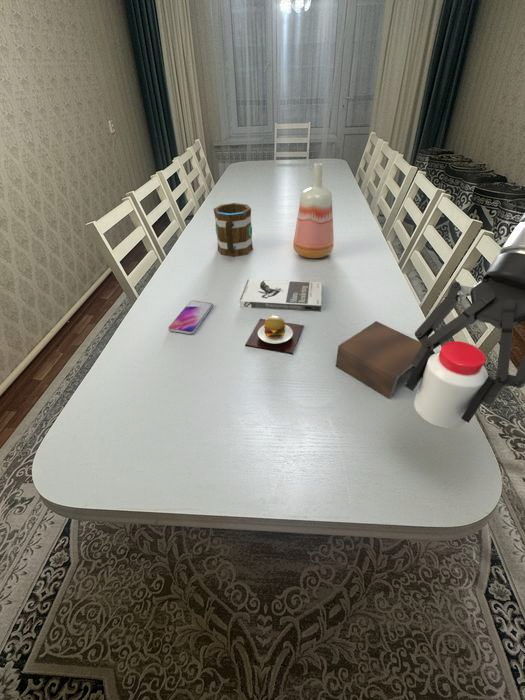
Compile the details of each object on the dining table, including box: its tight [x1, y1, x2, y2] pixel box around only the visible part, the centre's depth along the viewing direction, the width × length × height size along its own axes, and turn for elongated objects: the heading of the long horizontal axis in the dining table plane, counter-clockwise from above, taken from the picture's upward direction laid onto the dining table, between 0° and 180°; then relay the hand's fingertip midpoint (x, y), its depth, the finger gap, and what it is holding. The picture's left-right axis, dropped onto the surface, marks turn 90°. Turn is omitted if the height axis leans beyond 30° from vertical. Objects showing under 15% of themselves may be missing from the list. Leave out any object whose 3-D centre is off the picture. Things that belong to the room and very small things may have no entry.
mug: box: [212, 202, 254, 258], centre depth 129 cm, size 20×14×15 cm
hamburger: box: [244, 315, 304, 355], centre depth 90 cm, size 12×12×6 cm
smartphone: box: [167, 300, 214, 335], centre depth 99 cm, size 7×1×15 cm
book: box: [239, 278, 323, 313], centre depth 106 cm, size 23×14×2 cm, turn 82°
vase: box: [292, 162, 335, 259], centre depth 122 cm, size 14×14×30 cm
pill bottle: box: [413, 340, 489, 429], centre depth 52 cm, size 8×8×11 cm
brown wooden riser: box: [335, 320, 422, 399], centre depth 79 cm, size 14×14×6 cm
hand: (435, 403), depth 51 cm, fingers closed on pill bottle, 8 cm apart
